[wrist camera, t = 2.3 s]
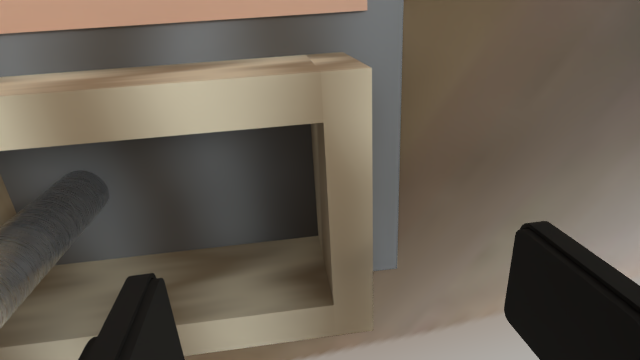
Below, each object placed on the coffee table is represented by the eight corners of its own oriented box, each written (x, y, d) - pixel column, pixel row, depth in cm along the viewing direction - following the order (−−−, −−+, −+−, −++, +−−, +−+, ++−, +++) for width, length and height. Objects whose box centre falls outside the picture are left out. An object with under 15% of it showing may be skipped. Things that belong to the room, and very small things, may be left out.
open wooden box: (342, 52, 16) (371, 67, 11) (349, 258, 20) (373, 330, 15) (-82, 82, 15) (-241, 114, 10) (16, 297, 19) (-67, 389, 14)
